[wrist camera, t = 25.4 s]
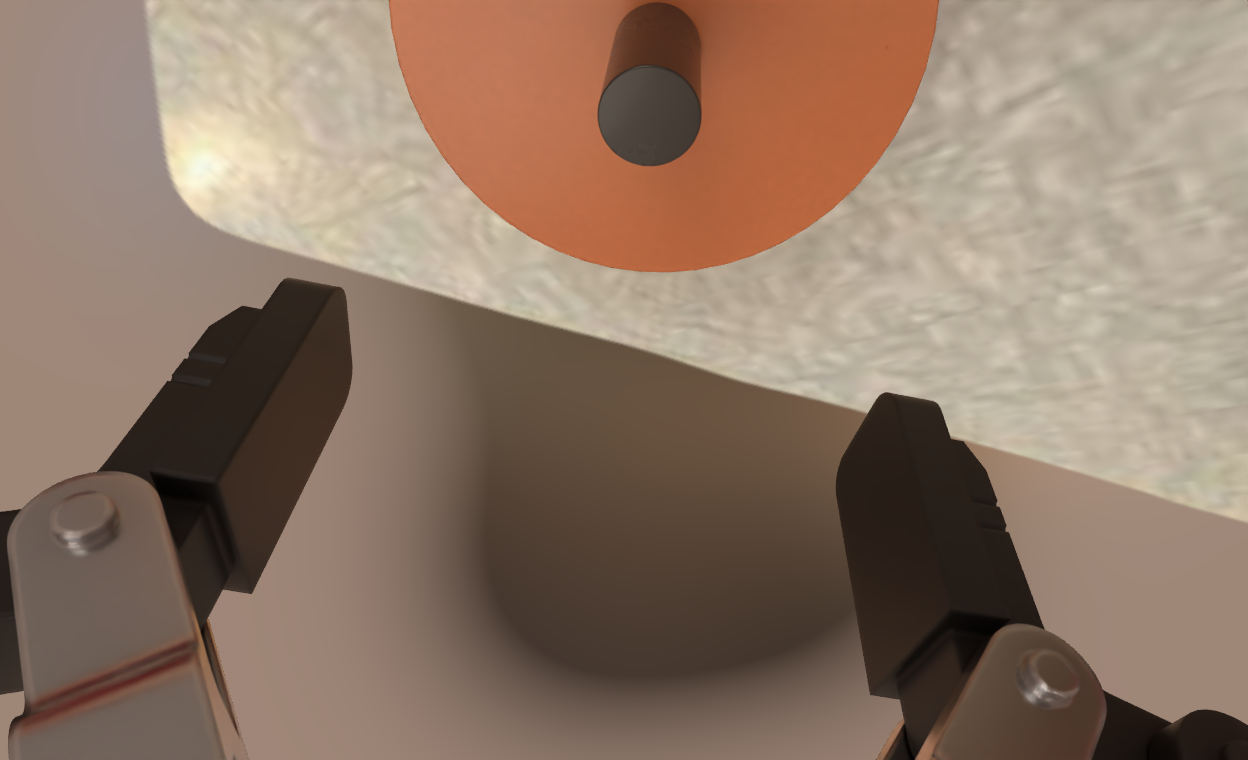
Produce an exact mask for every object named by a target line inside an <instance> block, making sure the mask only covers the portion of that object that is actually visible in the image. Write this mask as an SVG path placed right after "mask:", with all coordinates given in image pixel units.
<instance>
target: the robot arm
mask: <svg viewBox="0 0 1248 760" xmlns="http://www.w3.org/2000/svg"><path fill="white" fill-rule="evenodd" d="M351 379H352V355H351V344H350V334H349V323H348V313H347V301H346V295H345V292H344V290H343V289H342V288H340V287H336V286H330V285H325V284H320V283H314V282H309V281H304V280H298V279H293V278H286V279H284V280H283V281H282V282H281V283H280V284H279V285H278V287H277V288H276V290H275V291H274V293H273V294H272V295H271V297H270V299H269V300H268V301H267V303H266V304H265V305H264V307H263V308H262V309H257V308H252V307H246V306H241V307H239V308H238V309H236V310H235V311H233V312H231V313H230V314H228V315H227V316H225V317H223V318H222V319H220V320H219V321H217V322H215V323H214V324H212V325H211V326H209V327H208V329H207V330H206V331H205V333H204V334H203V335H202V336H201V338H200V339H199V340H198V342H197V343H196V344H195V346H194V347H193V348H192V350H191V351H190V352H189V357H188V359H184V360H183V361H182V363H181V364H180V365H179V367H178V368H177V369H176V370H175V372H174V373H173V374H172V379H171V381H167V382H166V384H165V385H164V386H163V388H162V389H161V390H160V392H159V393H158V394H157V395H156V397H155V398H154V399H153V401H152V402H151V403H150V405H149V406H148V407H147V409H146V410H145V411H144V412H143V414H142V415H141V416H140V418H139V419H138V420H137V422H136V423H135V424H134V426H133V427H132V428H131V430H130V431H129V432H128V433H127V435H126V436H125V437H124V439H123V440H122V441H121V443H120V444H119V445H118V446H117V448H116V449H115V450H114V452H113V453H112V454H111V456H110V457H109V458H108V460H107V461H106V462H105V463H104V465H103V466H102V467H101V468H100V469H99V470H98V471H97V472H93V473H88V474H83V475H79V476H75V477H72V478H69V479H66V480H64V481H62V482H59V483H57V484H55V485H53V486H51V487H49V488H48V489H46V490H44V491H43V492H41V493H40V494H38V495H37V496H36V497H34V498H33V499H32V500H31V501H30V502H29V503H27V504H26V505H25V506H24V507H23V508H22V509H18V510H12V511H5V512H0V695H1V694H6V693H13V692H19V691H24V696H25V708H24V712H23V714H22V715H20V716H18V717H15V718H14V719H13V721H12V722H11V724H10V729H9V736H8V754H9V760H249V757H248V753H247V750H246V747H245V744H244V741H243V737H242V734H241V730H240V727H239V723H238V720H237V716H236V713H235V709H234V706H233V702H232V699H231V695H230V692H229V688H228V685H227V682H226V678H225V674H224V671H223V667H222V664H221V661H220V657H219V654H218V650H217V646H216V643H215V640H214V636H213V633H212V629H211V626H210V622H209V619H208V617H209V614H210V613H211V611H212V609H213V607H214V605H215V603H216V601H217V599H218V598H219V596H220V594H221V592H222V590H223V589H224V590H230V591H236V592H242V593H249V594H252V592H253V590H254V588H255V586H256V584H257V582H258V580H259V578H260V576H261V574H262V572H263V570H264V568H265V566H266V564H267V562H268V560H269V558H270V556H271V554H272V552H273V550H274V548H275V546H276V544H277V542H278V540H279V538H280V535H281V534H282V532H283V529H284V527H285V525H286V523H287V521H288V519H289V517H290V515H291V513H292V511H293V509H294V507H295V505H296V503H297V501H298V499H299V497H300V495H301V493H302V491H303V489H304V487H305V485H306V483H307V481H308V479H309V477H310V474H311V473H312V471H313V468H314V466H315V464H316V462H317V460H318V458H319V456H320V454H321V452H322V450H323V448H324V446H325V444H326V442H327V440H328V438H329V436H330V434H331V432H332V430H333V428H334V426H335V424H336V422H337V420H338V418H339V416H340V413H341V411H342V409H343V407H344V405H345V403H346V400H347V397H348V394H349V390H350V385H351ZM836 496H837V503H838V508H839V514H840V520H841V526H842V532H843V538H844V544H845V549H846V556H847V561H848V567H849V573H850V579H851V585H852V591H853V597H854V602H855V609H856V614H857V620H858V626H859V632H860V638H861V644H862V650H863V656H864V662H865V667H866V673H867V679H868V685H869V691H870V695H874V696H880V697H887V698H893V699H900V702H901V707H902V712H903V717H904V718H903V719H902V720H901V721H900V722H899V723H898V724H897V725H896V727H895V728H894V729H893V731H892V733H891V735H890V736H889V738H888V740H887V741H886V743H885V745H884V746H883V748H882V750H881V752H880V753H879V755H878V757H877V758H876V760H1248V725H1246V724H1245V723H1243V722H1241V721H1240V720H1238V719H1236V718H1234V717H1232V716H1229V715H1227V714H1224V713H1221V712H1218V711H1213V710H1197V711H1194V712H1191V713H1189V714H1188V715H1186V716H1184V717H1182V718H1180V719H1179V720H1177V721H1175V722H1174V723H1170V722H1168V721H1166V720H1164V719H1162V718H1160V717H1158V716H1155V715H1154V714H1152V713H1149V712H1147V711H1145V710H1143V709H1141V708H1139V707H1137V706H1134V705H1132V704H1130V703H1128V702H1126V701H1124V700H1121V699H1120V698H1117V697H1115V696H1113V695H1111V694H1109V693H1108V692H1106V691H1104V690H1103V689H1102V687H1101V684H1100V683H1099V680H1098V679H1097V677H1096V675H1095V673H1094V672H1093V670H1092V669H1091V667H1090V666H1089V665H1088V664H1087V662H1086V661H1085V660H1084V659H1083V657H1082V656H1081V655H1080V654H1079V653H1078V652H1077V651H1076V650H1075V649H1074V648H1073V647H1071V646H1070V645H1069V644H1067V643H1066V642H1065V641H1064V640H1062V639H1061V638H1059V637H1058V636H1056V635H1054V634H1052V633H1051V632H1048V631H1046V630H1045V629H1044V627H1043V624H1042V621H1041V619H1040V616H1039V613H1038V610H1037V608H1036V605H1035V602H1034V600H1033V597H1032V594H1031V591H1030V589H1029V586H1028V583H1027V580H1026V578H1025V575H1024V572H1023V570H1022V567H1021V564H1020V561H1019V559H1018V556H1017V553H1016V550H1015V548H1014V545H1013V542H1012V540H1011V537H1010V534H1009V533H1008V532H1006V531H1005V528H1006V523H1005V521H1004V518H1003V515H1002V512H1001V509H1000V507H997V506H996V503H997V499H996V496H995V493H994V490H993V488H992V485H991V483H990V480H989V477H988V474H987V472H986V470H985V468H984V467H983V466H982V464H981V463H980V462H979V461H978V459H977V458H976V457H975V456H974V454H973V453H972V452H971V451H970V449H969V448H968V447H967V445H966V444H965V443H964V442H963V441H959V440H953V439H951V438H950V435H949V432H948V429H947V426H946V423H945V420H944V417H943V414H942V411H941V408H940V407H939V405H938V404H937V403H936V402H934V401H930V400H925V399H920V398H914V397H909V396H904V395H898V394H893V393H888V392H886V393H883V394H881V395H880V396H879V397H878V398H877V399H876V401H875V403H874V404H873V406H872V408H871V409H870V411H869V413H868V414H867V416H866V418H865V419H864V421H863V423H862V425H861V426H860V428H859V430H858V431H857V433H856V435H855V436H854V438H853V440H852V441H851V443H850V445H849V447H848V448H847V450H846V452H845V453H844V455H843V457H842V459H841V462H840V465H839V468H838V473H837V480H836Z"/></svg>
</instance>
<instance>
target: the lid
mask: <svg viewBox="0 0 1248 760" xmlns="http://www.w3.org/2000/svg"><path fill="white" fill-rule="evenodd" d="M938 4H939V0H389V6H390V17H391V28H392V33H393V37H394V42H395V47H396V51H397V56H398V61H399V65H400V68H401V71H402V74H403V76H404V79H405V82H406V85H407V88H408V91H409V94H410V97H411V99H412V101H413V104H414V106H415V108H416V110H417V112H418V114H419V116H420V118H421V120H422V123H423V125H424V127H425V129H426V130H427V132H428V134H429V135H430V137H431V138H432V140H433V142H434V143H435V145H436V146H437V148H438V150H439V151H440V153H441V154H442V156H443V157H444V159H445V160H446V161H447V162H448V164H449V165H450V166H451V168H452V169H453V170H454V171H455V173H456V174H457V175H458V176H459V178H460V179H461V180H462V181H463V182H464V183H465V184H466V185H467V186H468V187H469V189H470V190H471V191H472V192H473V193H474V194H475V195H476V196H477V197H478V198H479V199H480V200H481V201H482V202H483V203H484V204H486V205H487V206H488V207H489V208H491V209H492V210H493V211H494V212H495V213H497V214H498V215H499V216H500V217H502V218H503V219H504V220H505V221H507V222H508V223H509V224H511V225H513V226H514V227H516V228H517V229H519V230H520V231H522V232H523V233H525V234H527V235H528V236H530V237H531V238H533V239H535V240H537V241H539V242H541V243H543V244H545V245H547V246H549V247H551V248H553V249H555V250H557V251H559V252H562V253H565V254H567V255H570V256H573V257H576V258H578V259H581V260H584V261H587V262H591V263H595V264H599V265H603V266H607V267H611V268H618V269H626V270H633V271H641V272H677V271H688V270H698V269H703V268H708V267H713V266H719V265H724V264H727V263H730V262H734V261H737V260H740V259H743V258H746V257H750V256H753V255H755V254H757V253H760V252H762V251H764V250H766V249H769V248H771V247H773V246H776V245H778V244H780V243H782V242H783V241H785V240H787V239H789V238H790V237H792V236H794V235H796V234H797V233H799V232H801V231H803V230H804V229H806V228H807V227H809V226H810V225H811V224H813V223H814V222H816V221H817V220H818V219H820V218H821V217H822V216H824V215H825V214H826V213H828V212H829V211H830V210H832V209H833V208H834V207H835V206H836V205H837V204H838V203H839V202H840V201H841V200H843V199H844V198H845V197H846V196H847V195H848V194H849V193H850V192H851V191H852V190H853V189H854V188H855V187H856V186H857V185H858V184H859V183H860V182H861V180H862V179H863V178H864V177H865V176H866V175H867V173H868V172H869V171H870V170H871V169H872V168H873V167H874V165H875V164H876V163H877V162H878V160H879V159H880V157H881V156H882V154H883V153H884V151H885V150H886V148H887V147H888V145H889V144H890V143H891V141H892V140H893V138H894V137H895V135H896V133H897V132H898V130H899V128H900V126H901V124H902V122H903V120H904V118H905V116H906V114H907V113H908V111H909V109H910V107H911V105H912V103H913V101H914V98H915V95H916V93H917V90H918V87H919V85H920V82H921V80H922V77H923V74H924V72H925V69H926V66H927V62H928V58H929V54H930V50H931V46H932V42H933V38H934V34H935V29H936V21H937V12H938Z"/></svg>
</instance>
